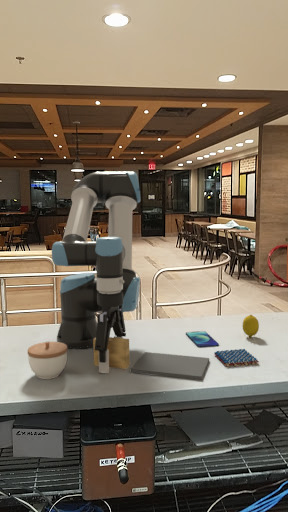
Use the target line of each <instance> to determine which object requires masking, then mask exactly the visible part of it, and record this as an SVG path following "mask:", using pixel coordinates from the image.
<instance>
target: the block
mask: <svg viewBox="0 0 288 512" xmlns="http://www.w3.org/2000/svg"><path fill="white" fill-rule="evenodd" d="M95 341H96V338H94V339H93V346H92V347H93V366H94V367H99V351H97V350H95ZM107 350H109V368H111V369H112V368H115V369H123V370H127V369H128V368H129V366H130V365H131V364H130V363H131V362H130V361H131V360H130V339H129V338H124V337H123V338H114V337H112V336H111V337H110V336H109V342H108V347H107Z"/></svg>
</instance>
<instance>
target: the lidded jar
mask: <svg viewBox="0 0 288 512" xmlns="http://www.w3.org/2000/svg"><path fill="white" fill-rule="evenodd" d="M27 357H28V364H29V367H30V369H31V371H32V373H34V375H36V376H37V378H39V379H42V380H51V379H55V378H57V377H59V376H60V375H61V373H62V372H63V371H64V369H65V368H66V365H67V360H68V348H67V345H66V344H64V343H60V342H57V341H45V342H39V343H35V344H33V345H31V346H29V347H28V349H27Z"/></svg>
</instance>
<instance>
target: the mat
mask: <svg viewBox="0 0 288 512" xmlns="http://www.w3.org/2000/svg"><path fill="white" fill-rule="evenodd" d="M209 363H210V357H204V356H203V357H202V356H192V355H180V354H172V353H171V354H169V353H158V352H150V351H148V352H147V351H146V352H145V351H144V353H143V354H142V355H141V356H140V357H139V358H138V359H137V360H136V361H135V363H134V364H133V365H132V367H131V368H130V373H135V374H142V375H143V374H144V375H150V376H151V375H153V376H160V377H171V378H179V379H190V380H196V381H203V377H204V376H205V373H206V371H207V368H208V366H209Z"/></svg>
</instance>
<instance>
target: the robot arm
mask: <svg viewBox="0 0 288 512" xmlns="http://www.w3.org/2000/svg"><path fill="white" fill-rule="evenodd" d="M70 199H71V202H72V203H71V207H70V211H69V213H68V218H67V221H66V226H65V230H64V234H63V236H62V237H63V238H62V241H61V240H60V241H55V242H54V243H53V244H52V246H51V259H52V260H51V261H52V262H53V264H54V266H59V267H60V266H61V267H91V266H93V267H94V266H95V267H96V275H95V273H93V272H82V273H75V274H71V275H68V276H66V277H63V278H62V279H61V281H60V288H59V289H60V291H59V294H60V296H59V297H60V314H61V321H60V324H59V328H58V333H57V335H56V342H60V343H64V344H66V345H67V349H75V350H79V349H86V348H92V347H93V339H94V338H96V341H95V350H97V351H99V366H98V372H99V373H100V374H101V373H102V374H109V373H110V367H109V350H107V347H108V342H109V337H110V335H111V331H112V330H113V335H114V336H113V338H124V337H126V336H127V333H126V331H127V330H126V323H125V318H124V313H127V312H134V311H135V310H136V309H137V307H138V302H139V297H140V288H141V287H140V286H141V279H140V277H138V276H137V273H136V271H135V270H134V269H133V268H132V264H133V263H132V261H133V210H135V209H136V208H137V205H138V204H139V203H140V202H141V201H142V200H141V191H140V183H139V177H138V174H137V172H135V171H127V170H125V171H95V172H92V173H89V174H87V175H85V176H84V177H82V178H81V179H80V180H79V181H78V182H77V183H76V184H75V186H74V187H73V189H72V192H71V195H70ZM99 203H101V204H105V207H106V209H108V231H107V234H108V235H107V236H101V237H97V238H96V240H95V241H89V240H88V236H89V233H90V232H89V231H90V227H91V222H92V215H93V212H94V208H95V207H96V205H97V204H99ZM96 313H97V314H96ZM96 315H97V316H96ZM96 317H97V318H96Z"/></svg>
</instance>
